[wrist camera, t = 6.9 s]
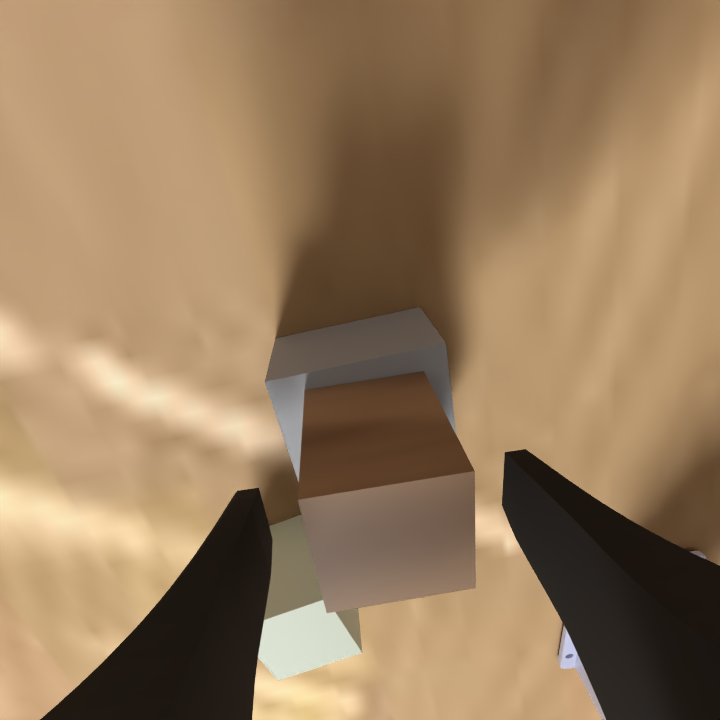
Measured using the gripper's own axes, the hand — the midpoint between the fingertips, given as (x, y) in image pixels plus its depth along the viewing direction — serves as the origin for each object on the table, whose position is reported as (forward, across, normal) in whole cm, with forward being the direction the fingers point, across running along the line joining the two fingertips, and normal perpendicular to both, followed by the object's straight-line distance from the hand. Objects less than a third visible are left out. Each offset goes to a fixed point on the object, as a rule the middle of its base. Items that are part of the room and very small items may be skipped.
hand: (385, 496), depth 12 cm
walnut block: (+3, 0, 0) cm, 3 cm away
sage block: (+7, +4, +9) cm, 12 cm away
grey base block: (+7, 0, 0) cm, 7 cm away
